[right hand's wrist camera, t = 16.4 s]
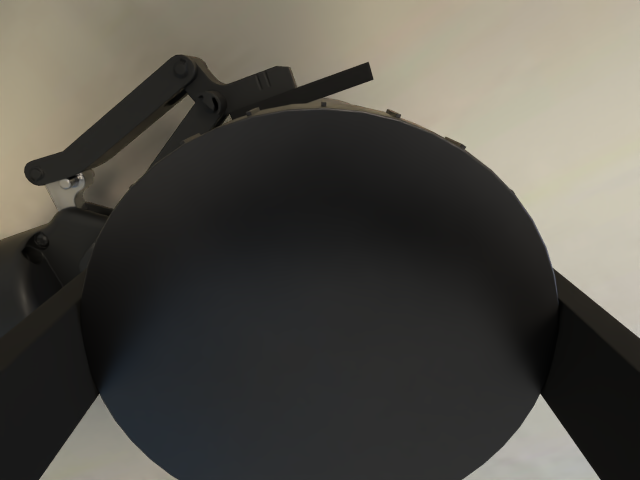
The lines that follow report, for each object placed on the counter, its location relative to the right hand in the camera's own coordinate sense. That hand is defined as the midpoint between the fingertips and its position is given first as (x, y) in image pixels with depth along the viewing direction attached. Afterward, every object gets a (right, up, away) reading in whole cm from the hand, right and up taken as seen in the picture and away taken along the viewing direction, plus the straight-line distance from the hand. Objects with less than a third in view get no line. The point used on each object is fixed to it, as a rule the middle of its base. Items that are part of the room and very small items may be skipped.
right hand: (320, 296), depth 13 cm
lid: (0, -1, -2) cm, 3 cm away
